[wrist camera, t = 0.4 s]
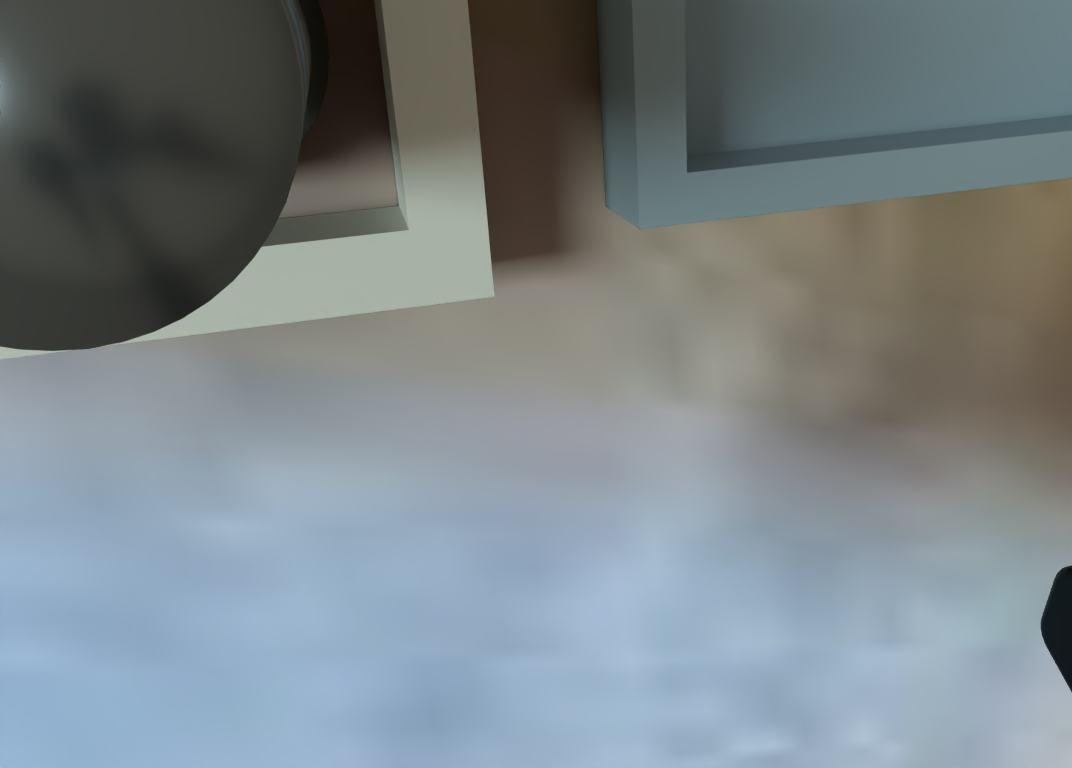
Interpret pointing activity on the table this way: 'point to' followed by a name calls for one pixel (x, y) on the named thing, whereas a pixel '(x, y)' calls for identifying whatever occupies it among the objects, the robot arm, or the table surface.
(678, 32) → the tray
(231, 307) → the collar block
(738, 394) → the table surface
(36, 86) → the strut
